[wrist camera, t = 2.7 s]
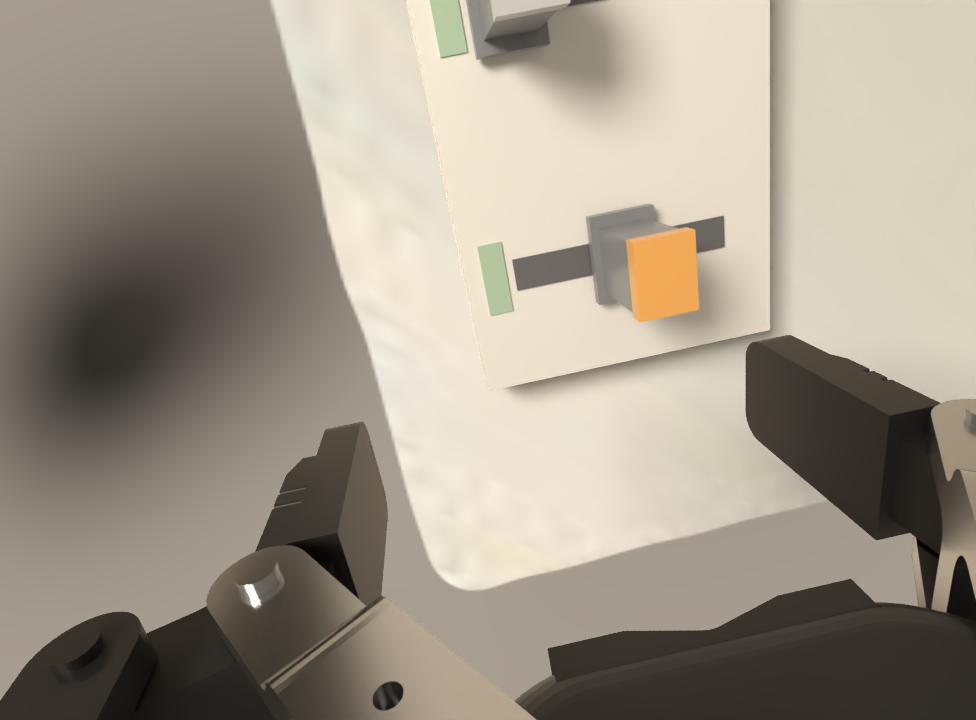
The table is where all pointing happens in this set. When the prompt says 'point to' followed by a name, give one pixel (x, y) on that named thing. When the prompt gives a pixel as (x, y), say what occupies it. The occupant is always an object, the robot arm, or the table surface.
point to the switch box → (602, 171)
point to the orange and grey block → (643, 263)
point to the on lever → (510, 25)
